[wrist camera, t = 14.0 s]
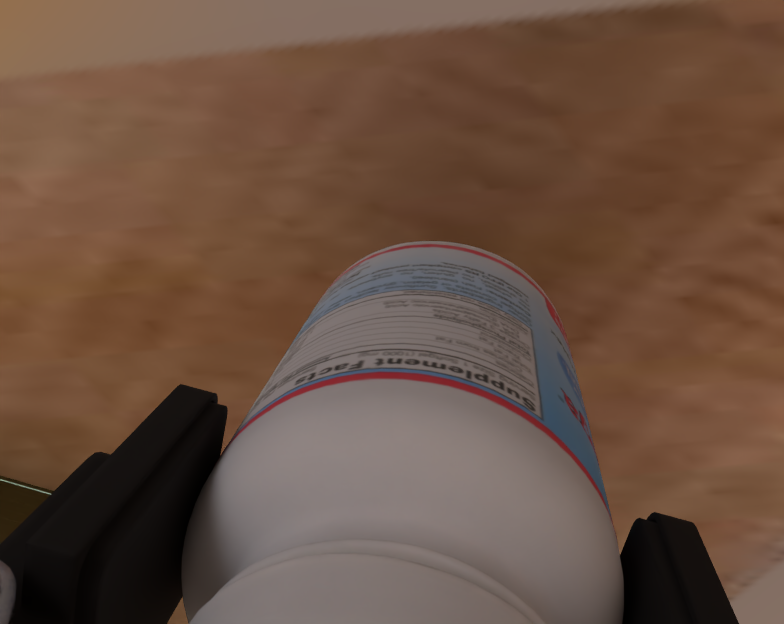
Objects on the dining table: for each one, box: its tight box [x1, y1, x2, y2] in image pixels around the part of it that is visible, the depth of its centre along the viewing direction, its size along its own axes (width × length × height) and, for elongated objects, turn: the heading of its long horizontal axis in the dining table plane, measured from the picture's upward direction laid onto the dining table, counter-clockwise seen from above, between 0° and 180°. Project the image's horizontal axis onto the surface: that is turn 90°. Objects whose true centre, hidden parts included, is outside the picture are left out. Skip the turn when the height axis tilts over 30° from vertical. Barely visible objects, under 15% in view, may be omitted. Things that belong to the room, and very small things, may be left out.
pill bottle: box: [181, 241, 624, 624], centre depth 12 cm, size 6×6×11 cm
